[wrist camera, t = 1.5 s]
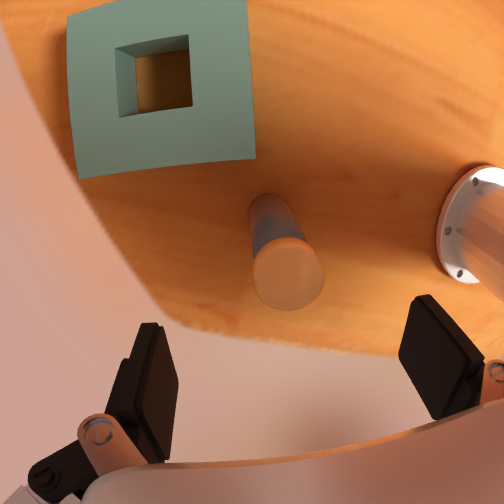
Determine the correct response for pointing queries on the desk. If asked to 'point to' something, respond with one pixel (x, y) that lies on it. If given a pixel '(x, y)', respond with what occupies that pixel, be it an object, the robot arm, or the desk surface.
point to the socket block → (125, 86)
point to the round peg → (282, 256)
